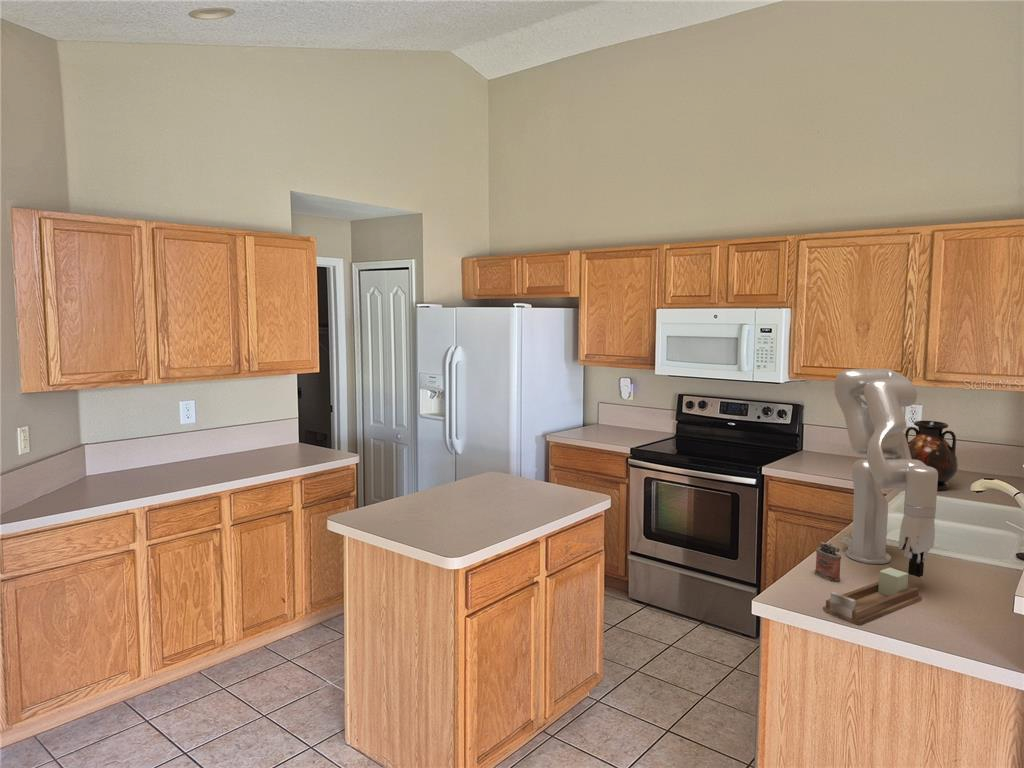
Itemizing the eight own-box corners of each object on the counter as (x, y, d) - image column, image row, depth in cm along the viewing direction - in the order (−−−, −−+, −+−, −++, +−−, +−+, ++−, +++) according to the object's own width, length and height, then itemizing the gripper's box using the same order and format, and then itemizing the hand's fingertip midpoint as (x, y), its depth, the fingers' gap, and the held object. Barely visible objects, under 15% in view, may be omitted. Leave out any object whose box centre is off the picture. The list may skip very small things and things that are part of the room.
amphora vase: (960, 485, 302) (964, 422, 299) (951, 496, 286) (956, 429, 282) (904, 477, 316) (908, 417, 313) (893, 487, 299) (897, 423, 296)
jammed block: (878, 592, 188) (879, 571, 188) (888, 588, 191) (889, 567, 190) (896, 599, 184) (897, 577, 183) (906, 594, 187) (908, 573, 186)
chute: (822, 610, 180) (823, 590, 179) (884, 587, 194) (885, 568, 194) (859, 625, 171) (860, 604, 171) (921, 600, 186) (922, 580, 185)
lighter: (812, 573, 205) (813, 540, 204) (820, 571, 206) (822, 538, 205) (834, 583, 197) (836, 549, 196) (843, 581, 199) (844, 547, 198)
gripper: (920, 503, 198) (916, 565, 200) (890, 511, 190) (886, 576, 192) (948, 509, 191) (944, 574, 193) (918, 518, 184) (914, 585, 186)
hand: (915, 574), depth 193 cm, fingers closed
